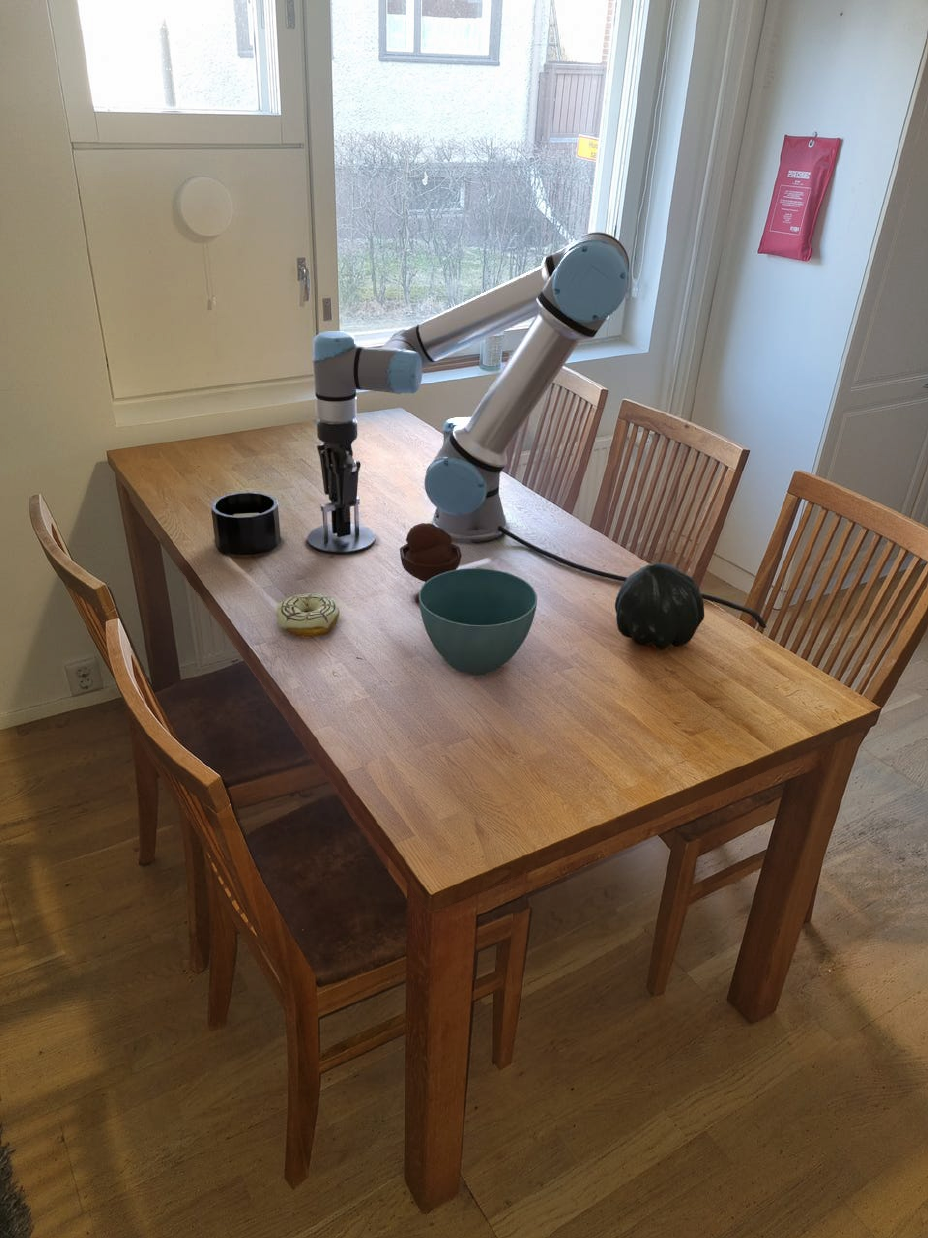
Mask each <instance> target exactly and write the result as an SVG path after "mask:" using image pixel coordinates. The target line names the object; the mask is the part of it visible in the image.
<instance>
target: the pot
mask: <svg viewBox="0 0 928 1238" xmlns="http://www.w3.org/2000/svg"><path fill="white" fill-rule="evenodd" d="M278 502H279V501H278V499H276V498H275V497H274V496H273V495H270V494H267V493H264V492H260V491H259V492H258V491H240V492H239V491H238V492H233V493H229V494H225V495H222V496H220V497H217V498H216V499H215V500H214V501H212V503H211V505H210V511H211V518H212V528H213V536H214V542H215V543H214V544H215V548H216V550H217V552H219V553H220V554H222V555H224V556H227V557H230V555H233V556H239V557H241V556H242V557H243V556H245V557H246V556H257V555H260V554H265V553H268V552H270V551H272V550H274V549H275V548H277V547H278V546H279V545H280V543H281V542H282V540H281V527H280V525H281V524H280V515H279V514H280V513H279V503H278ZM244 513H259V514H256V515H251V516H233V514H244Z"/></svg>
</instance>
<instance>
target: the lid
mask: <svg viewBox="0 0 928 1238" xmlns="http://www.w3.org/2000/svg"><path fill="white" fill-rule="evenodd" d="M360 500H361V499H360V498H359V497H358V496H357V502H356V505H354V506H353V515H354V516H353V520H354V521H353V522H354V523H351V522H350V524H351V534H350V535H346V536H342V537H338V536H337V533H335V534H334V533H333V532H332V523H329V524H328V512H331V511H333V510H336V507H335V504H338V501H335V502H331V501H330V502H327V503H322V504H320V511H321V512H322V513H321V514H322V515H321V516H322V525H321V526H319V527H316V528H314V529H312V530H311V531H310V532H309V533H308V535H307V544H308V546H309V547H310V548H312V549H313V550H315V551H317V552H319V553H323V554H329V555H336V556H337V555H340V556H341V555H352V554H357V553H361V552H365V551H366V550H368V549H370V548H371V547H373V546H374V545H375V543H376V539H377V536H376V533H375V532H374V530H372V529H371V528H369V527H367V526H365V525H362V524H360V513H359V511H360V510H359V508H360V507H359V506H360V505H361V504H360V503H361V501H360ZM351 507H352V506H350V508H351Z"/></svg>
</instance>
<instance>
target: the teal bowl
mask: <svg viewBox="0 0 928 1238" xmlns="http://www.w3.org/2000/svg"><path fill="white" fill-rule="evenodd" d="M418 593H419V604H418V605H419V610H420V615H421V620H422V623H423V626H424V629H425V632H426V634H427V636H428V638H429V640H430V642H431V644H432V645H433V647H434V649H435V650H436V651H437V653H438V654H439V655H440V656H441V657H442V659H443V660H444V661H445V662H446V663H447V664H448V665H449V666H450V667H451V668H453V669H454V670H455V671H457V672H459V673H462V674H465V675H468V676H469V675H470V676H484V675H485V676H486V675H488V674H492V673H494V672H496V671H497V670H499V669H500V668H502V667H503V666H504V665H505V664H506V663H508V662H509V661H510V660H511V659H512V658H513V656H515V654H516V653H517V652H518V651H519V649H520V648H521V646H522V645H523V643H524V642H525V640H526V638H527V637H528V635H529V633H530V630H531V627H532V625H533V621H534V618H535V616H536V615H535V614H536V610H537V607H538V606H537V605H538V594H537V592H536V590H535V588H534V587H533V586H532V585H531V584H530V583H529V582H528V581H526V580H525V579H523V578H521V577H519V576H517V575H515V574H513V573H510V572H507V571H503V570H498V569H492V568H485V567H483V568H481V567H468V568H467V567H466V568H457V569H456V570H452V571H448V572H445V573H441V574H439V575H437V576H435V577H433V578H431V579H429V580H428V581H427V582H426V583H425V582H424V583H423V584H422V586H421V587H420V589H419V592H418Z"/></svg>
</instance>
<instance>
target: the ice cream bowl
mask: <svg viewBox="0 0 928 1238" xmlns="http://www.w3.org/2000/svg"><path fill="white" fill-rule="evenodd" d="M405 542H406V543H405V544H404V545H403V546H401V547H399V556H400V561H401V565H402V567H403V569H404V571H406V572H407V573H408V574H409V575H410V576H412V577H413V578H415V579H417V580H418V581H421V582H424V584H425V583H426V582H427V581H428V580H429V579H431V578H433V577H435V576H437V575H439V574H441V573H445V572H448V571H452V570H457V569H459V566H460V564H461V560H462V556H463V555H462V551H461V547H460V546H458V545H456V544H455V543H453V538H452V537H451V536H450V535H449V534H448V533H447V532H445V531H444V530H443V529H441V528H439V527H436V526H434V525H433V523H430V522H427V523H425V522H421V523H418V524H416V525H413V526H412V527H411V528H410V529H409V531H408V532H407V534H406V538H405ZM414 601H415V603H416V604H418V605H420V604H419V592H417V593H416V594H415V596H414Z"/></svg>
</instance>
